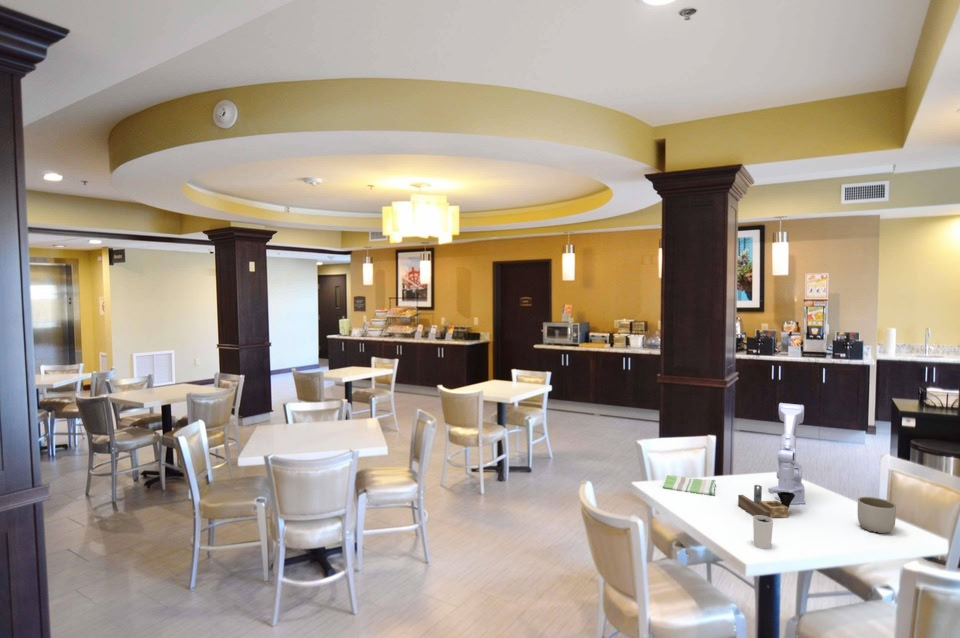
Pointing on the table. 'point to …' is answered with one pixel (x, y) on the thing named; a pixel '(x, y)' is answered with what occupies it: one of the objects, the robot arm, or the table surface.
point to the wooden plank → (751, 507)
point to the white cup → (762, 531)
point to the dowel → (757, 493)
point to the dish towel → (690, 485)
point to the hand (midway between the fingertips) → (785, 509)
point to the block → (775, 508)
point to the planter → (876, 514)
